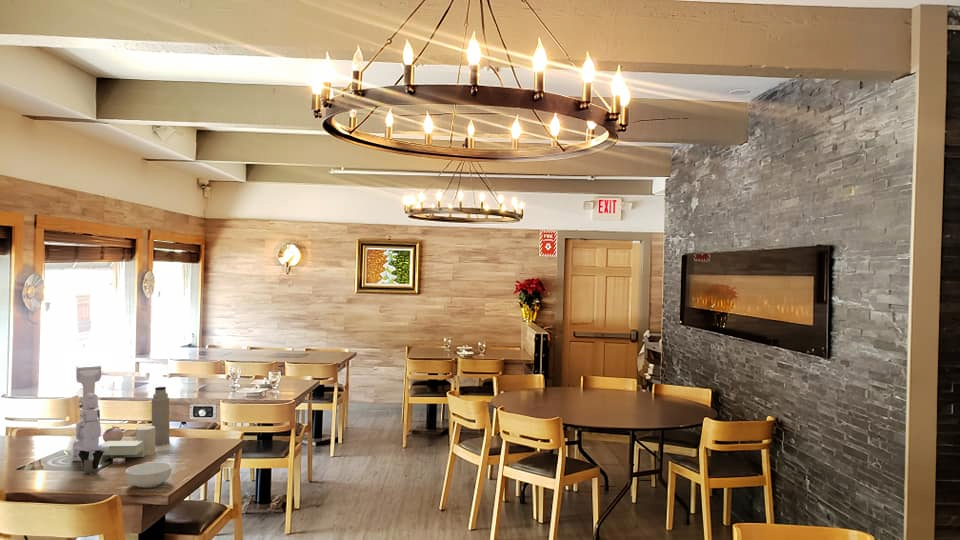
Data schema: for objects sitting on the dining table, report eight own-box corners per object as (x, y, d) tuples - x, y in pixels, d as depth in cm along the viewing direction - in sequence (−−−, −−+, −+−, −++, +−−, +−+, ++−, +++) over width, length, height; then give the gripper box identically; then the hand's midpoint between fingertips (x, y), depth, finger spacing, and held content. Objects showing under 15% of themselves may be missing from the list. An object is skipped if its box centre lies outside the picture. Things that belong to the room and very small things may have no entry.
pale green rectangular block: (98, 463, 317) (97, 446, 317) (107, 457, 326) (107, 440, 326) (135, 462, 318) (135, 445, 318) (144, 456, 327) (144, 440, 327)
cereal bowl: (124, 494, 275) (124, 475, 275) (126, 481, 290) (126, 464, 290) (171, 488, 282) (171, 471, 282) (171, 477, 297) (171, 460, 297)
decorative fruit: (116, 448, 342) (116, 427, 342) (100, 448, 342) (100, 427, 342) (126, 443, 351) (126, 423, 351) (110, 443, 351) (110, 423, 351)
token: (110, 464, 315) (110, 459, 315) (115, 461, 320) (115, 456, 320) (122, 464, 316) (122, 459, 316) (127, 461, 321) (127, 455, 321)
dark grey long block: (84, 474, 300) (84, 460, 300) (101, 463, 316) (101, 450, 316) (92, 474, 300) (92, 460, 300) (109, 463, 316) (109, 450, 316)
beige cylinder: (147, 455, 329) (147, 430, 329) (132, 454, 331) (132, 429, 331) (158, 451, 337) (158, 426, 337) (143, 450, 339) (143, 425, 338)
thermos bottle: (163, 440, 357) (163, 385, 357) (172, 442, 353) (172, 386, 353) (148, 443, 351) (148, 387, 350) (158, 446, 346) (157, 389, 346)
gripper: (68, 439, 298) (68, 471, 298) (104, 438, 299) (104, 470, 299) (77, 435, 305) (77, 466, 305) (111, 434, 306) (111, 465, 306)
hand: (91, 468), depth 303 cm, fingers closed on dark grey long block, 3 cm apart
